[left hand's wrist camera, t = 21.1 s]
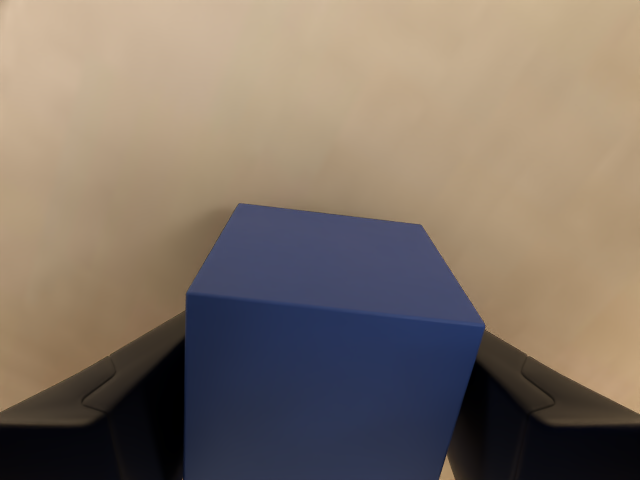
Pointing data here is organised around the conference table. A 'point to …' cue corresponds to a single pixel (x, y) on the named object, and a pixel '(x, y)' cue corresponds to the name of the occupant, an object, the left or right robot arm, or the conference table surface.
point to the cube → (323, 351)
